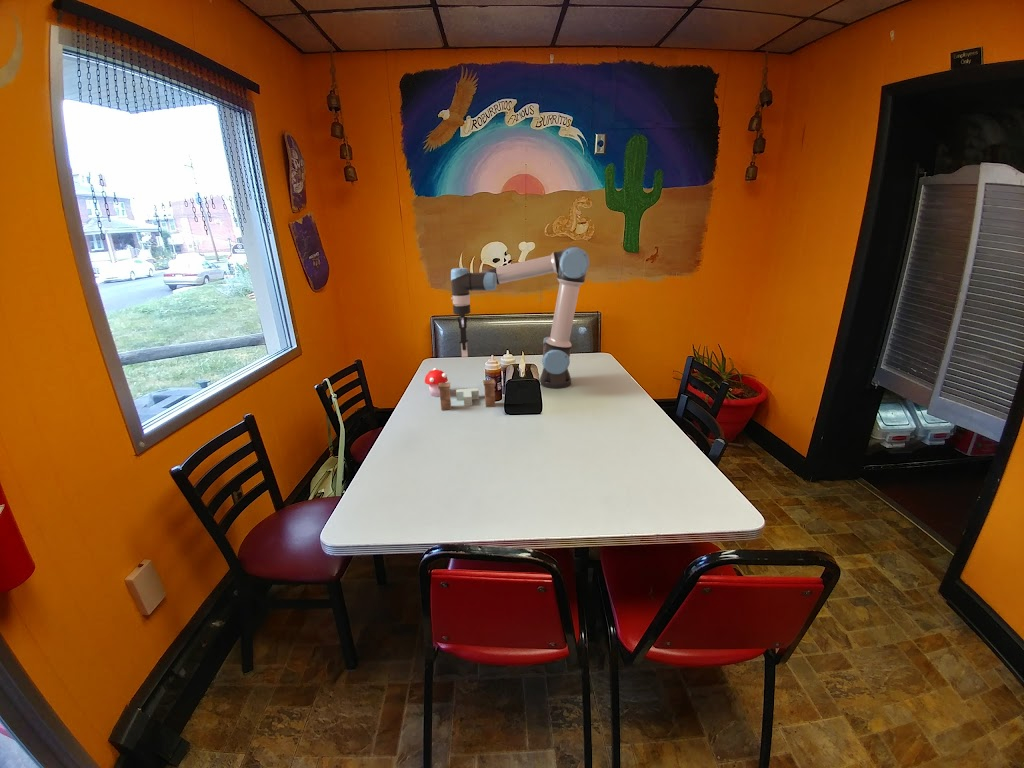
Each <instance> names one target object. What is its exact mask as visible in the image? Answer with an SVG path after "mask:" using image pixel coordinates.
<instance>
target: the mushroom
mask: <svg viewBox="0 0 1024 768" xmlns="http://www.w3.org/2000/svg"><path fill="white" fill-rule="evenodd" d="M448 382H449V380H448V374H447V373H446V372H444V371H443V370H441V369H440V370H439V369H438V368H436V367H434V368H433V369H432V370H429V371H428V373H427V374H426V375H425V377H424V383H425V385H428V388H429V389H428V390H429V393H430V395H431V397H436V398H438V397H440V389H438V385H439V383H448Z"/></svg>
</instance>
